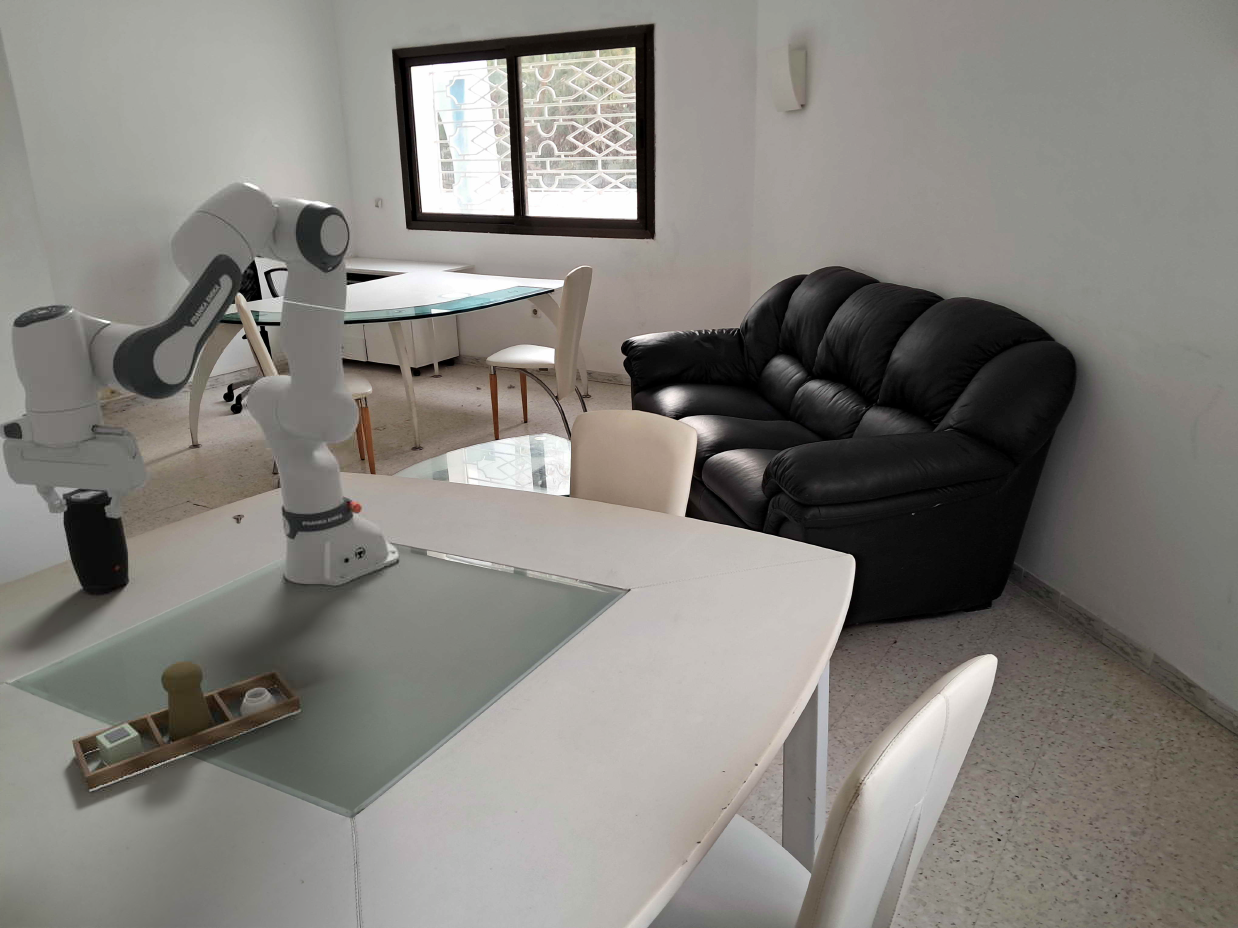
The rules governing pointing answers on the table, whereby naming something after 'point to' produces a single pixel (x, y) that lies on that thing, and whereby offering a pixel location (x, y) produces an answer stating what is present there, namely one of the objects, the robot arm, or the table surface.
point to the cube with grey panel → (119, 744)
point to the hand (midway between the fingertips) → (87, 514)
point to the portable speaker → (95, 541)
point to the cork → (185, 700)
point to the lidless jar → (256, 701)
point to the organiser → (194, 741)
